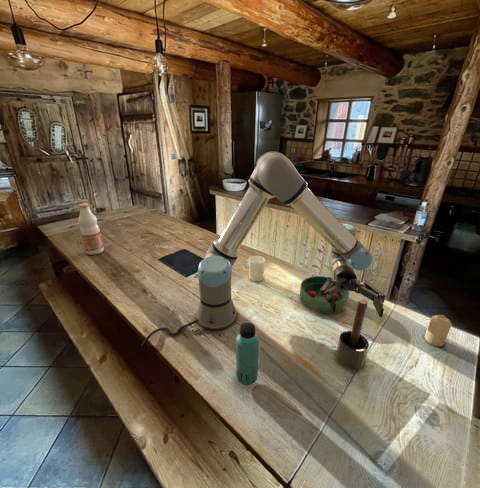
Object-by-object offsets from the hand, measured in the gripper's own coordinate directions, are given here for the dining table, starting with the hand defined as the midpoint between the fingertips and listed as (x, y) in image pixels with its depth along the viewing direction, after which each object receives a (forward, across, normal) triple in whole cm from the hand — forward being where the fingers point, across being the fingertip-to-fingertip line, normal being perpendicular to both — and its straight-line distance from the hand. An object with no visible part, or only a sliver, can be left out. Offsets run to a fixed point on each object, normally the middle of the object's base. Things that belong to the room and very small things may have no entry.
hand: (357, 310), depth 80 cm
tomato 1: (-28, +9, -15) cm, 33 cm away
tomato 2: (-28, 0, -15) cm, 31 cm away
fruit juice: (-53, +129, -4) cm, 140 cm away
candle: (-10, -30, -17) cm, 36 cm away
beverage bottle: (+15, +31, -17) cm, 39 cm away
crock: (+3, 0, -17) cm, 17 cm away
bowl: (-28, +5, -17) cm, 33 cm away
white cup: (-40, +34, -17) cm, 56 cm away
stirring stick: (+3, 0, -16) cm, 17 cm away
